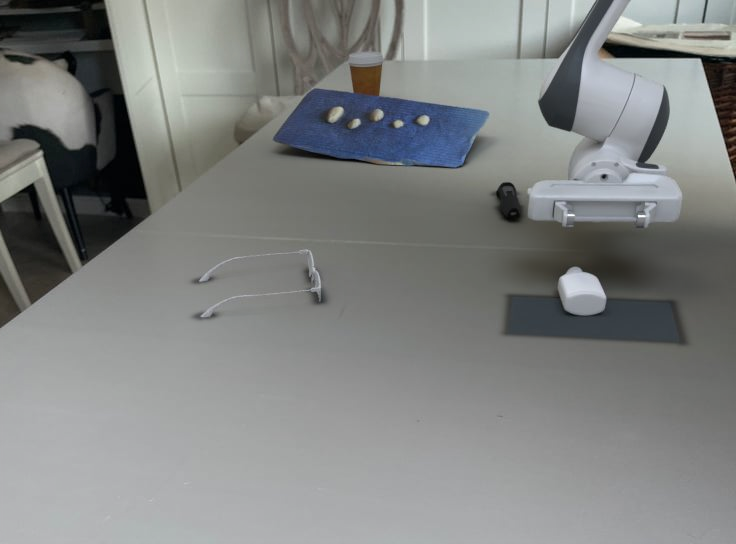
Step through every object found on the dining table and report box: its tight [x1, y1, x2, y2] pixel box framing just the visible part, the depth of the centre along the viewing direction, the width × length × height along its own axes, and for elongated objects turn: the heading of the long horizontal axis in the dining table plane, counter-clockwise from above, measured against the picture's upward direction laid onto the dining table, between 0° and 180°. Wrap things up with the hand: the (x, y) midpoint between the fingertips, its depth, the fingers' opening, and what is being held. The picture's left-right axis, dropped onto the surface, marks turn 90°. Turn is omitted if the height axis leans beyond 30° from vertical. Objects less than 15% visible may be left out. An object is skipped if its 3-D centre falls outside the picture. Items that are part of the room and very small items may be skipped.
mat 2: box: [508, 296, 681, 343], centre depth 111 cm, size 22×12×1 cm, turn 79°
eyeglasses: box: [198, 249, 322, 318], centre depth 122 cm, size 15×18×4 cm
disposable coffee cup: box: [347, 51, 385, 96], centre depth 214 cm, size 10×10×12 cm
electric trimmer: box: [495, 181, 521, 219], centre depth 148 cm, size 4×16×3 cm, turn 176°
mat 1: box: [272, 87, 490, 168], centre depth 185 cm, size 45×27×12 cm, turn 69°
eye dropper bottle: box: [557, 266, 607, 316], centre depth 115 cm, size 4×6×12 cm
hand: (605, 221), depth 106 cm, fingers open, 8 cm apart
